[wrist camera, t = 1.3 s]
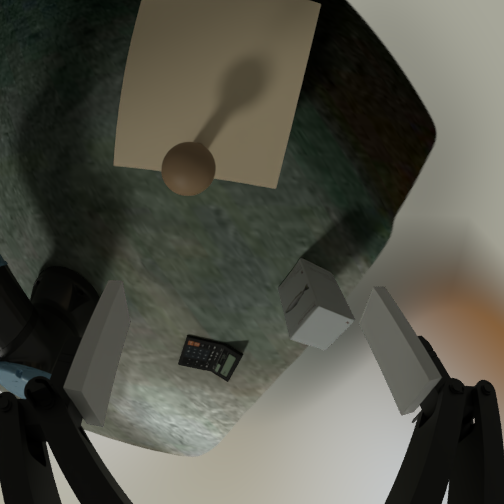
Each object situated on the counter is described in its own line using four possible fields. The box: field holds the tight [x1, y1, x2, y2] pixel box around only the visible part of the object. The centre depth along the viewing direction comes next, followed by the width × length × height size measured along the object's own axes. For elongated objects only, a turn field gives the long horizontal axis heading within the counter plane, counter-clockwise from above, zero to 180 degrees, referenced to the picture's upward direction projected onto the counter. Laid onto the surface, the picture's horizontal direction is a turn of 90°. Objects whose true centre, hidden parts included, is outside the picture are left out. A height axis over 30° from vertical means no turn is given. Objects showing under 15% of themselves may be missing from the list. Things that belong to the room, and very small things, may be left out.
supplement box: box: [278, 258, 355, 350], centre depth 47 cm, size 7×7×13 cm
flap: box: [114, 0, 321, 196], centre depth 20 cm, size 17×20×10 cm
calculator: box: [178, 335, 243, 382], centre depth 59 cm, size 9×12×3 cm
